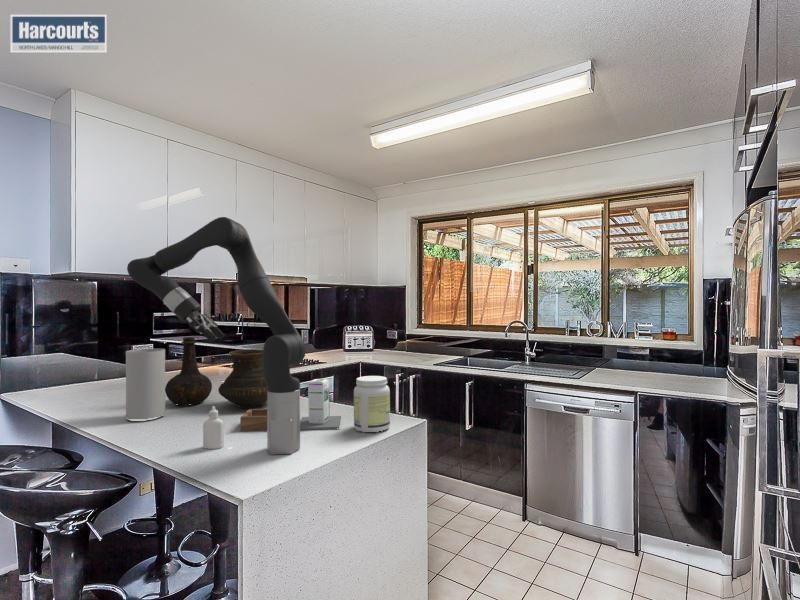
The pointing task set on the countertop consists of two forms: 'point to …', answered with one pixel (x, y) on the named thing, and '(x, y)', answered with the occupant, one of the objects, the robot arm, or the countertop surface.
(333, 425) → the grey flat block
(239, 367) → the ceramic pot
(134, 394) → the cylinder vase
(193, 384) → the brown bulbous vase
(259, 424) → the walnut collar
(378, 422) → the supplement tub
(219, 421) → the eye dropper bottle
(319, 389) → the syrup box
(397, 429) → the countertop surface
